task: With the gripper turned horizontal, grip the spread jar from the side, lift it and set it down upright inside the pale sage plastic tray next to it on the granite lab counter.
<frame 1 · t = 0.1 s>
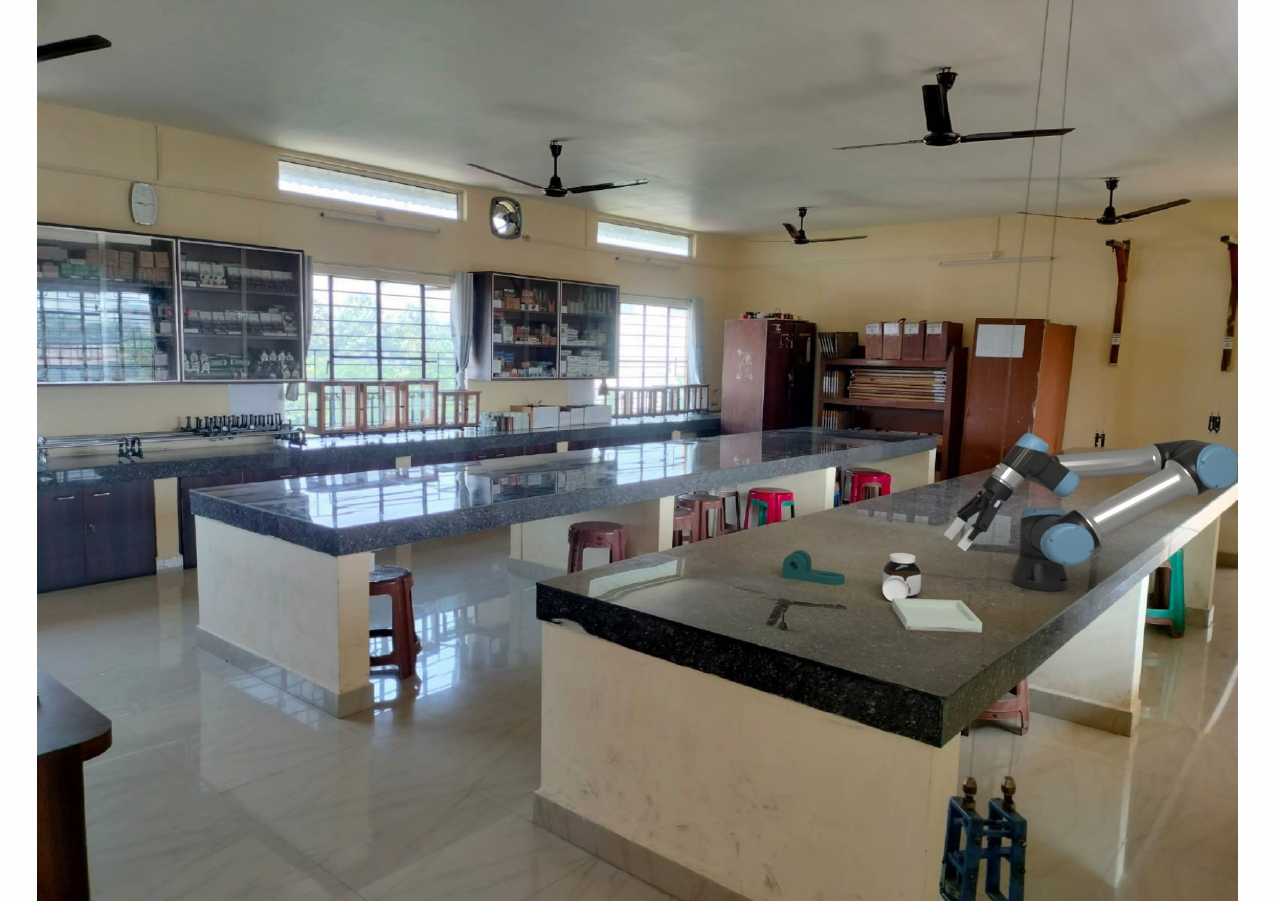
hand: (953, 542, 225), 15 cm above the countertop, tool tilted 35°, fingers open, 13 cm apart
bracket: (814, 580, 242), on the countertop
tray: (934, 619, 206), on the countertop
spread jar: (899, 598, 224), on the countertop
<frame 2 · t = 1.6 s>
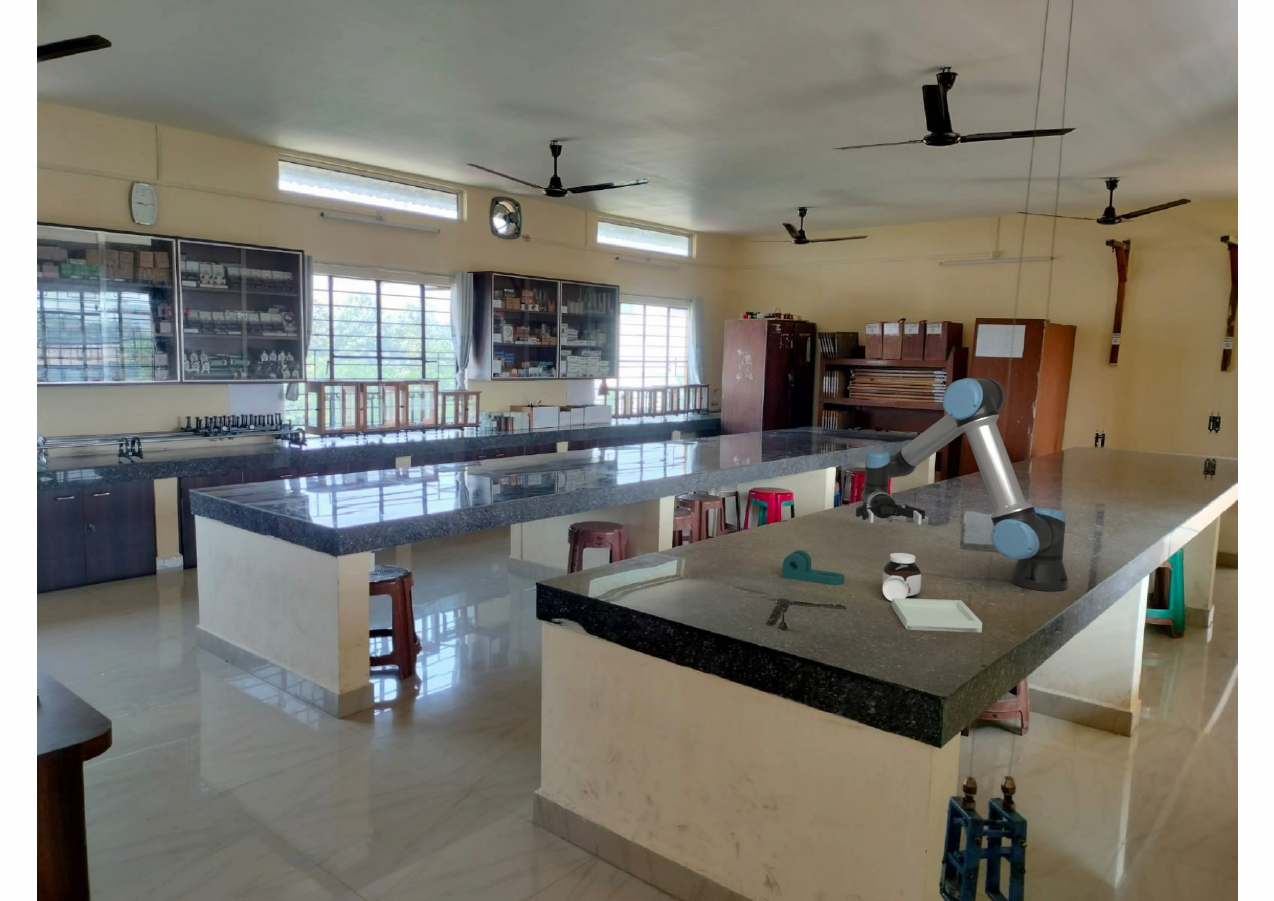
hand: (896, 519, 231), 20 cm above the countertop, tool horizontal, fingers open, 13 cm apart
nothing on the countertop moved.
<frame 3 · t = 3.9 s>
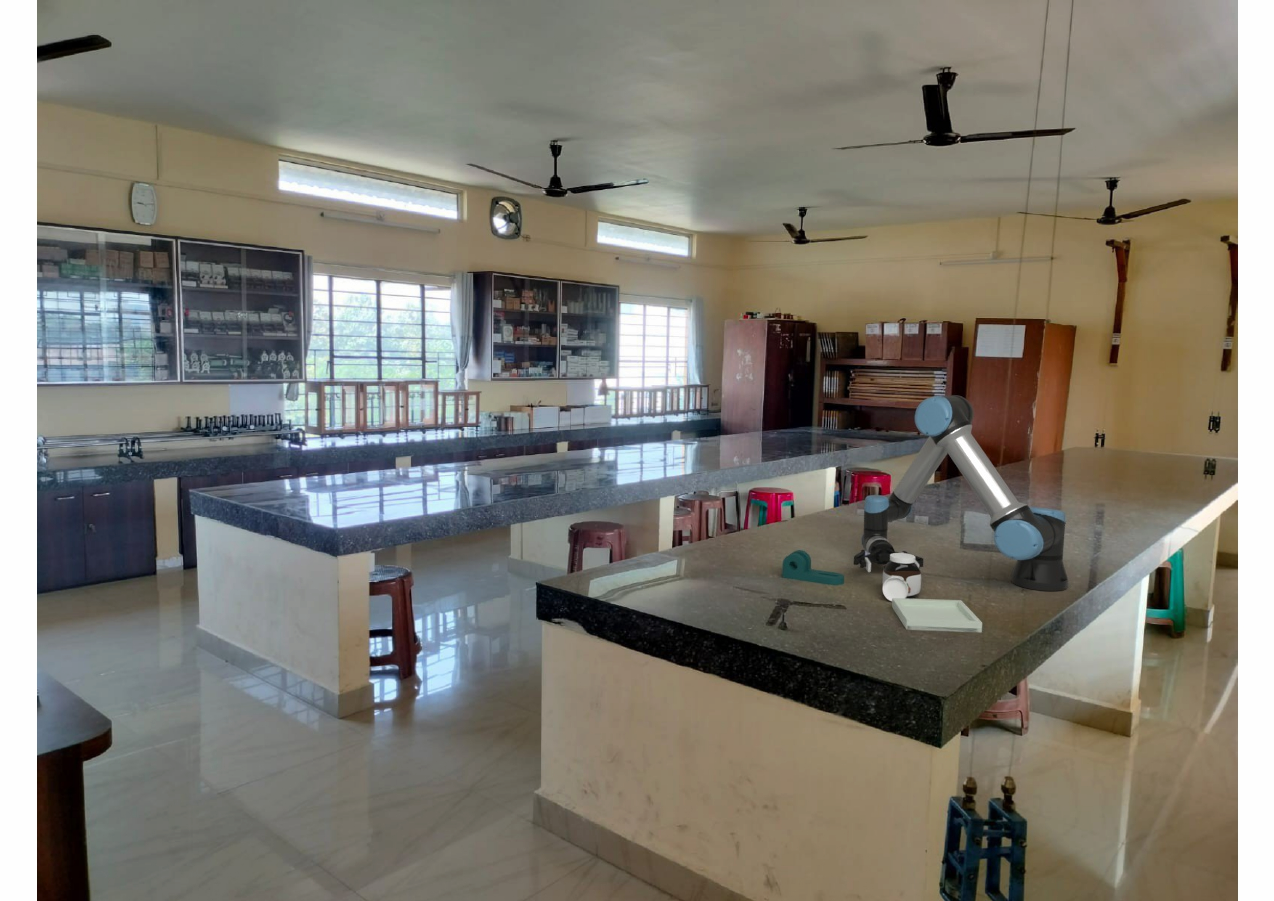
hand: (893, 568, 230), 6 cm above the countertop, tool horizontal, fingers open, 13 cm apart
nothing on the countertop moved.
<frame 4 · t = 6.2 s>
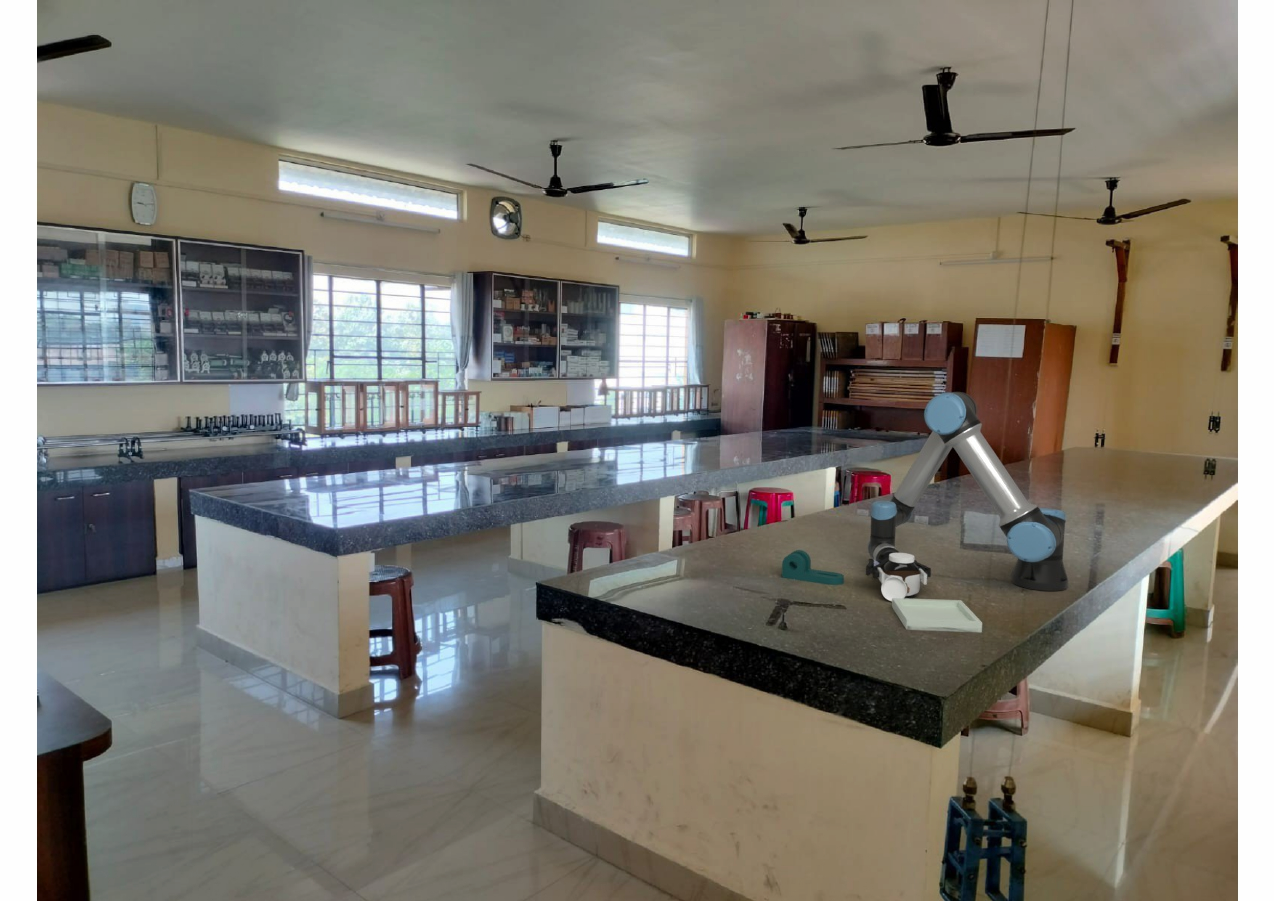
hand: (904, 579, 219), 7 cm above the countertop, tool horizontal, fingers closed on spread jar, 11 cm apart
spread jar: (898, 598, 224), on the countertop, touching gripper
everything else where it was.
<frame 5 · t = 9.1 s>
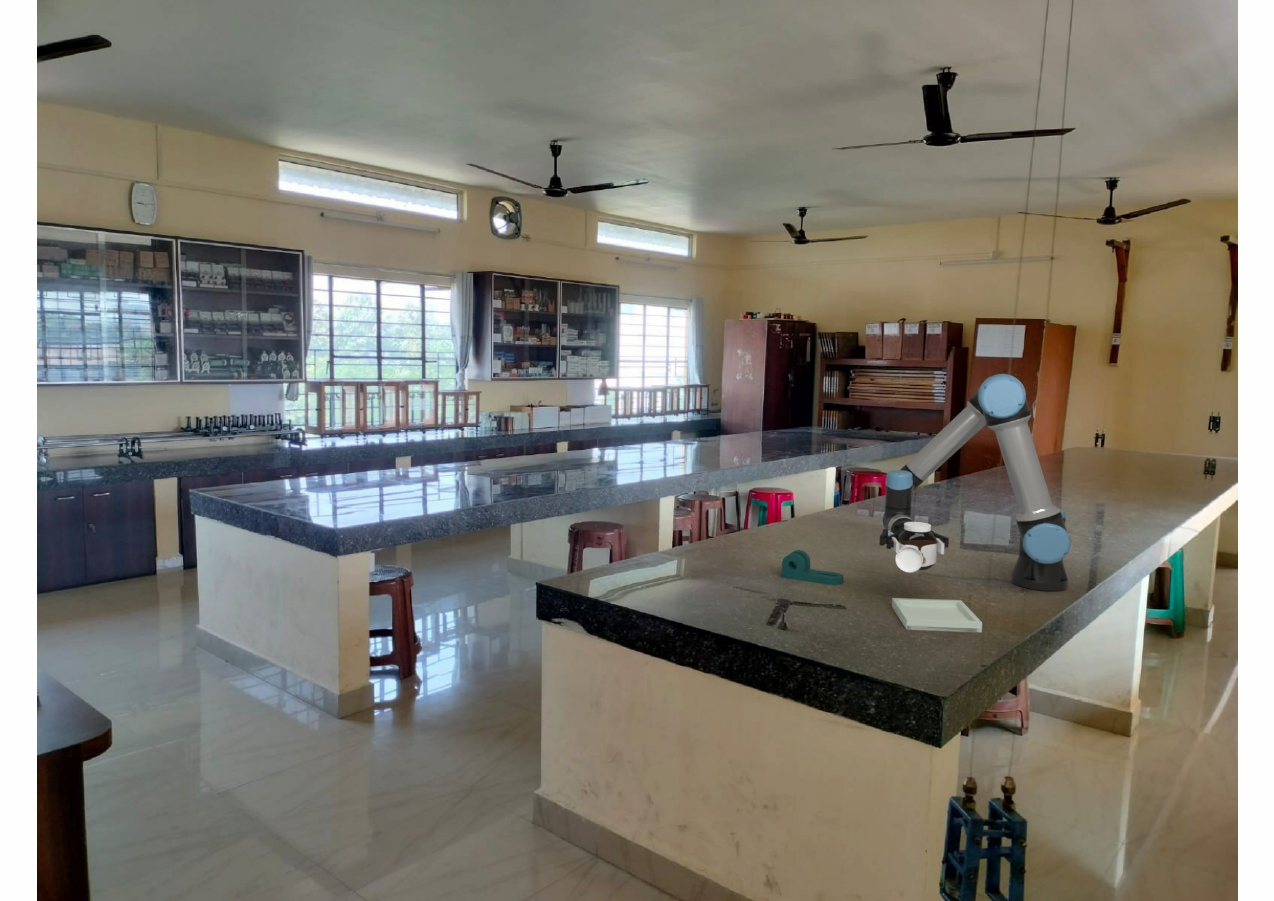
hand: (920, 548, 207), 18 cm above the countertop, tool horizontal, fingers closed on spread jar, 11 cm apart
spread jar: (914, 569, 212), point 11 cm above the countertop, touching gripper
everything else where it was.
when the fingers open (8 cm above the countertop, at t = 12.1 s): spread jar stays where it is, resting on tray.
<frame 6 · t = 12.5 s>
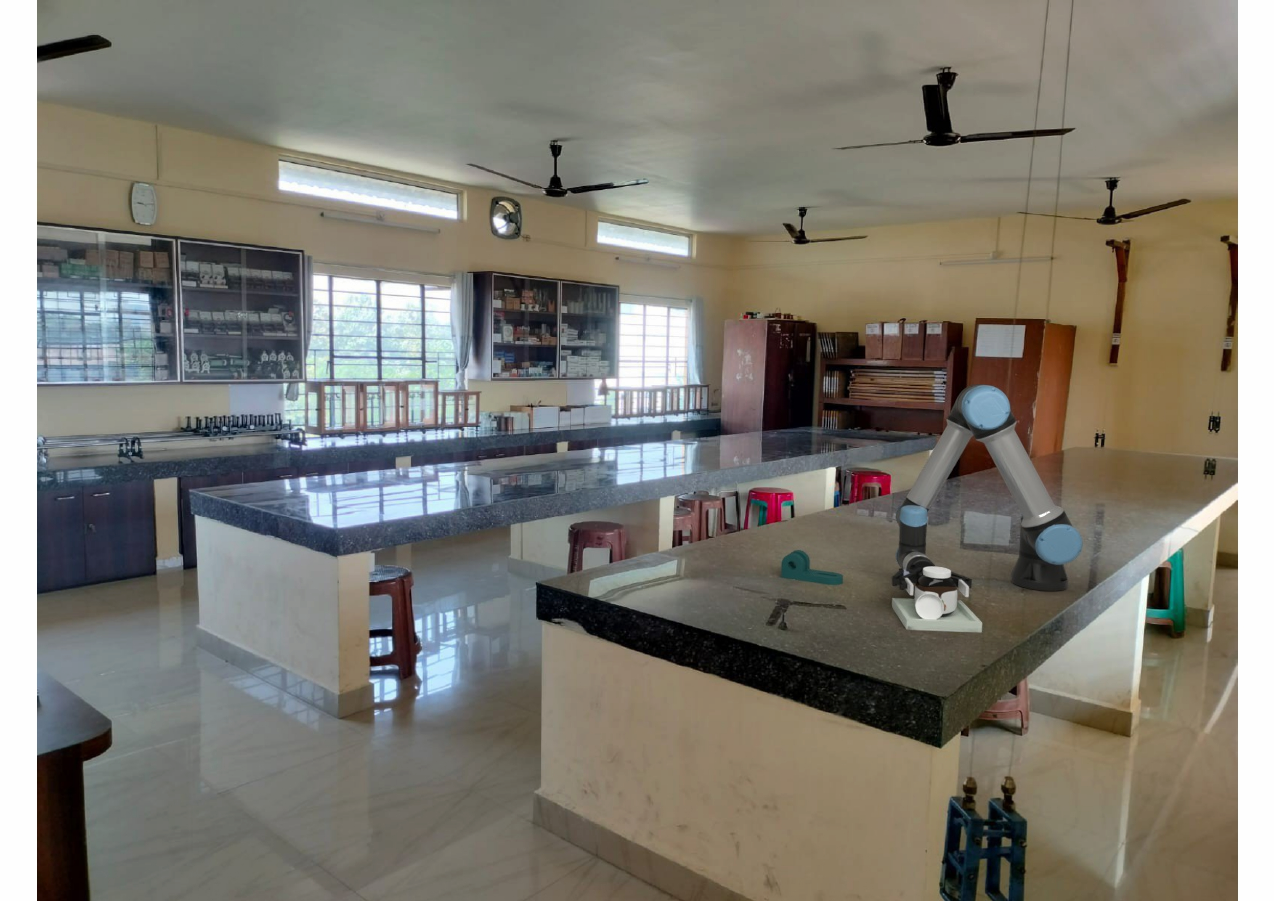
hand: (939, 591, 201), 8 cm above the countertop, tool horizontal, fingers open, 13 cm apart
spread jar: (934, 616, 205), point 1 cm above the countertop, touching tray
everything else where it was.
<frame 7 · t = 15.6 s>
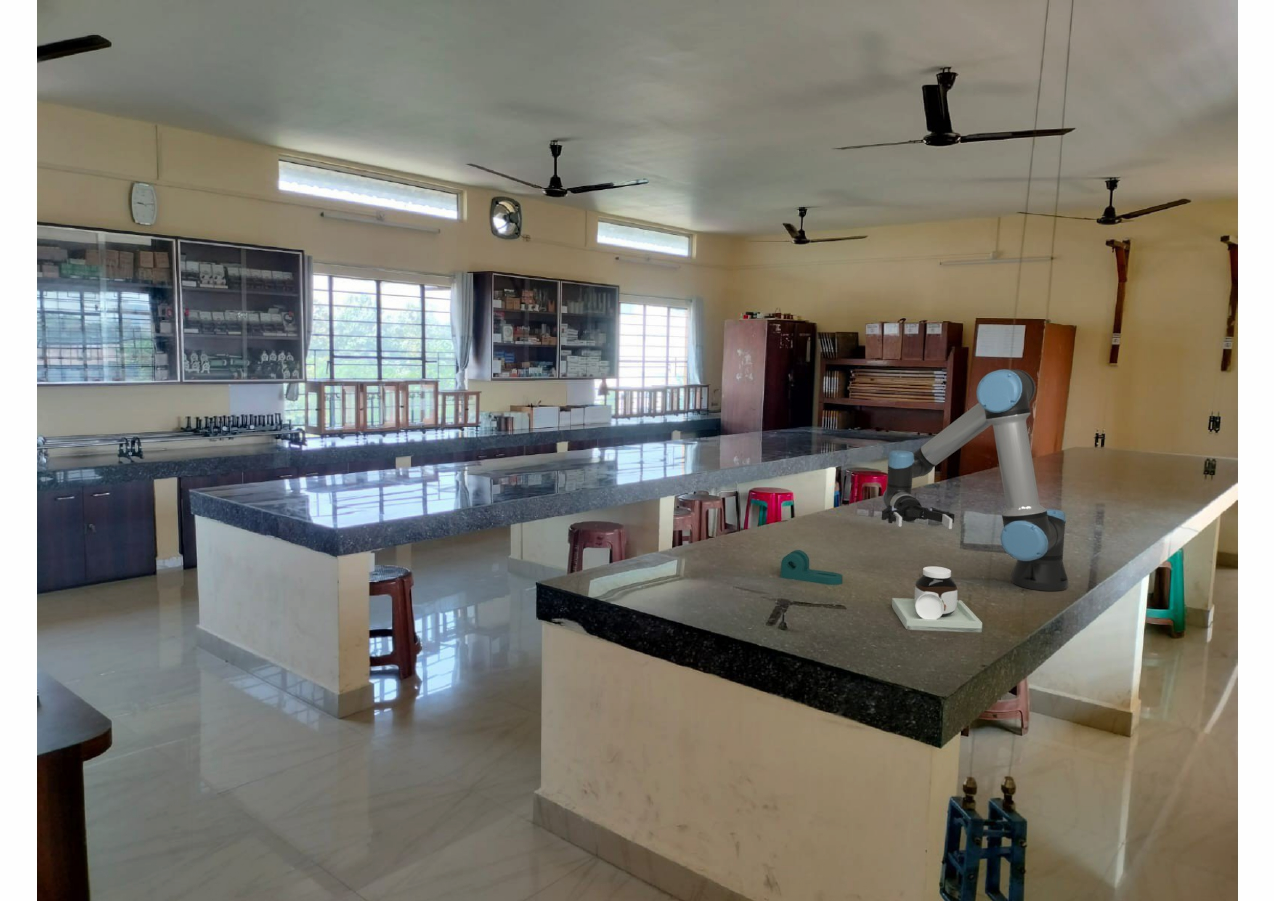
hand: (925, 523, 219), 22 cm above the countertop, tool horizontal, fingers open, 13 cm apart
nothing on the countertop moved.
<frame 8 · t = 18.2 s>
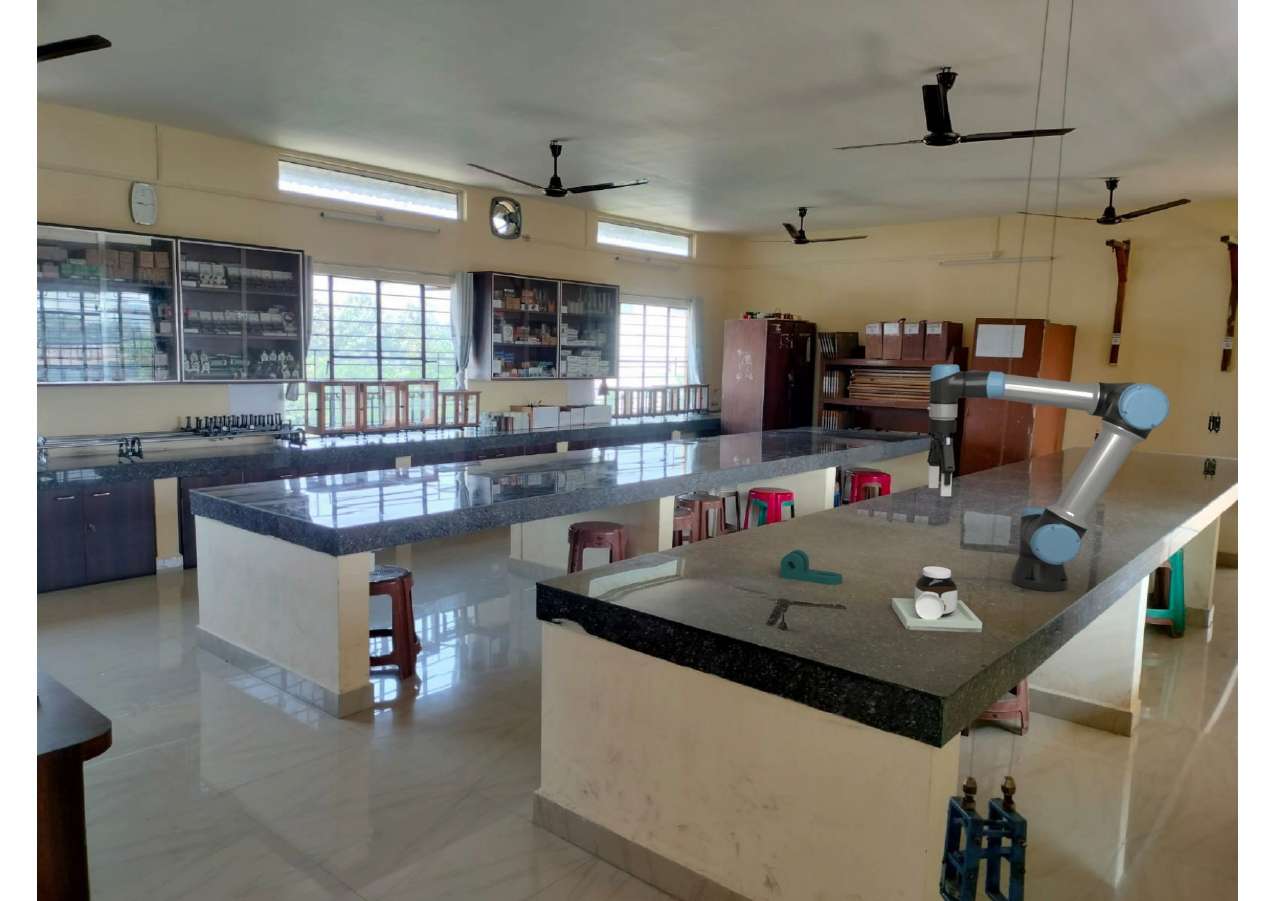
hand: (939, 492, 229), 29 cm above the countertop, tool pointing down, fingers open, 13 cm apart
nothing on the countertop moved.
at the end: spread jar inside the target area on the tray (0.2 cm from its centre), point 0.8 cm above the tray's base; spread jar tilted 0°; the gripper is holding nothing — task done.
